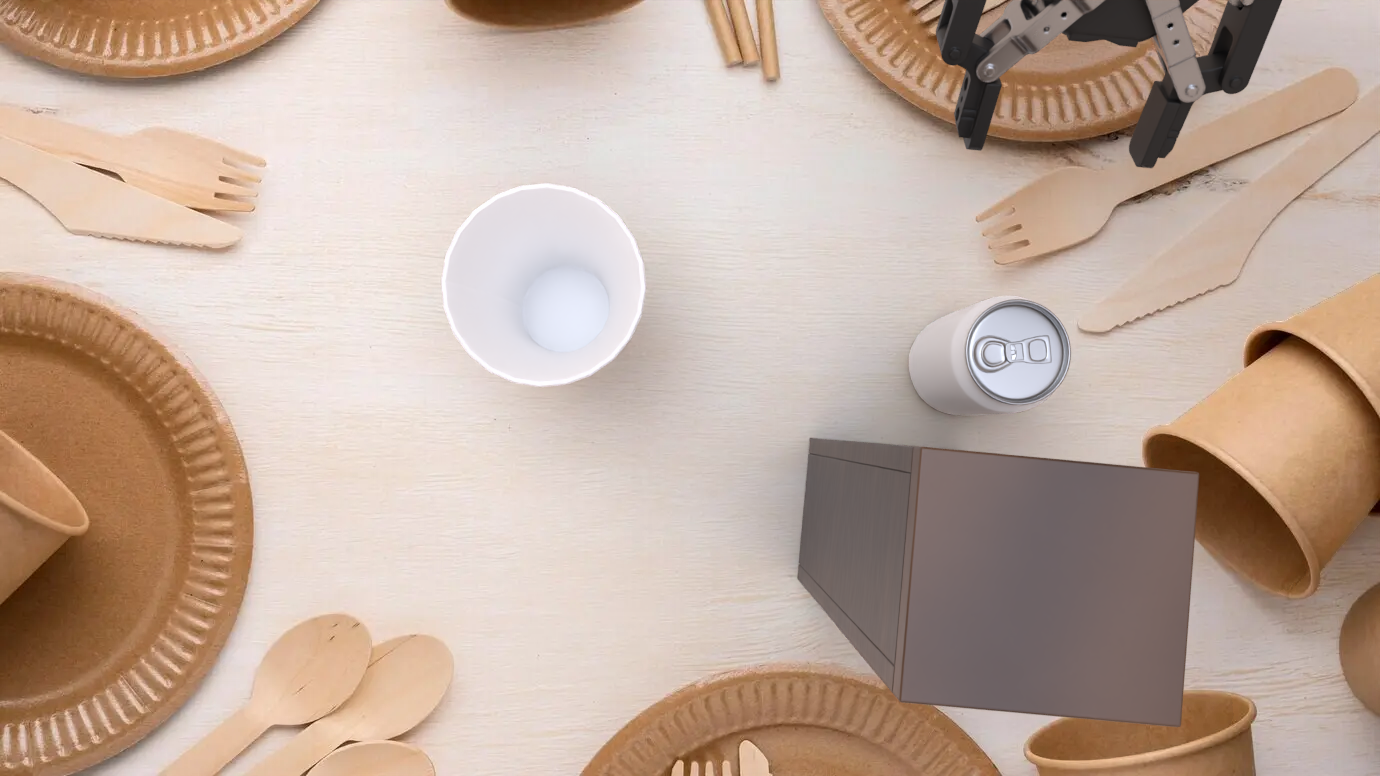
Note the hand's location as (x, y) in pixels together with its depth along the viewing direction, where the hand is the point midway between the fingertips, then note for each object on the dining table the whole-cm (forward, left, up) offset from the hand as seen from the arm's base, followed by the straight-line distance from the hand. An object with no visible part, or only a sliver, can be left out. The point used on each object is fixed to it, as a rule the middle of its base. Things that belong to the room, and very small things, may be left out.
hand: (1055, 151), depth 53 cm
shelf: (+4, +20, +14) cm, 25 cm away
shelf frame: (+4, +20, -15) cm, 25 cm away
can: (0, +10, -15) cm, 18 cm away
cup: (+25, +9, -15) cm, 31 cm away
